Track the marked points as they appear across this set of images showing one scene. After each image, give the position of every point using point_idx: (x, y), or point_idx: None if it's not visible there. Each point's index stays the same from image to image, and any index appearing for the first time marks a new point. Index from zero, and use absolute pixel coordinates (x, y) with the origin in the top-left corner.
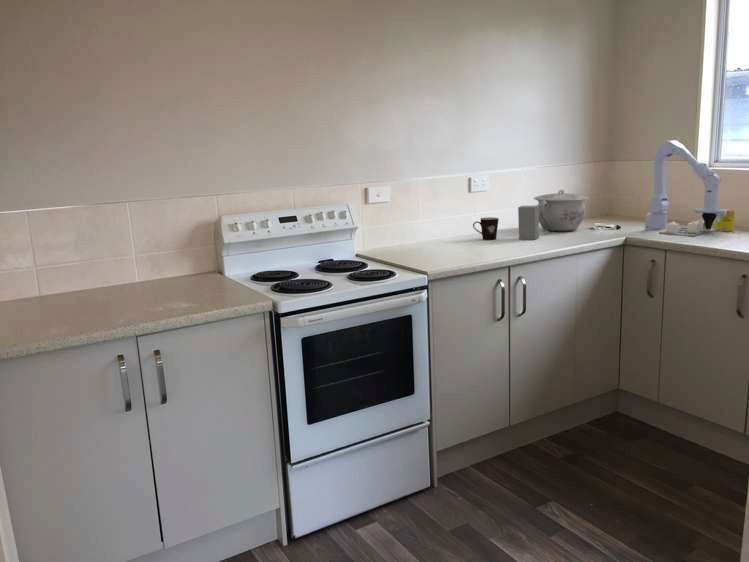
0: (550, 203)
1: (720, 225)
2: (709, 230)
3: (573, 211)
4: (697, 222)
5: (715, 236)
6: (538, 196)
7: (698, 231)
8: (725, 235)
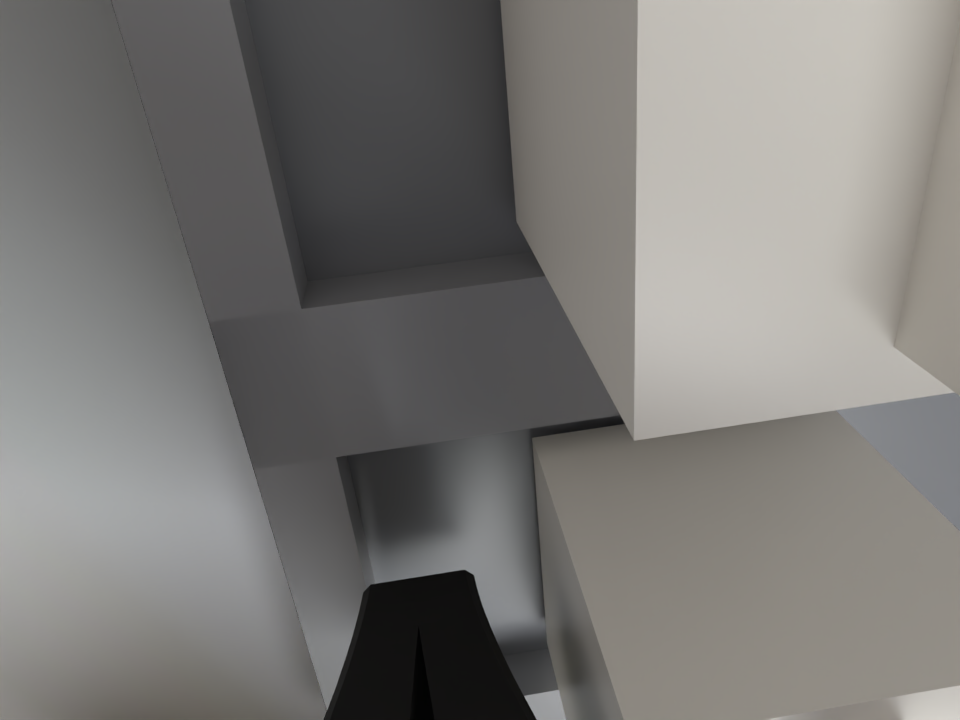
0: None
1: None
2: None
3: None
4: (927, 670)
5: (77, 408)
6: None
7: (516, 116)
8: (71, 691)
